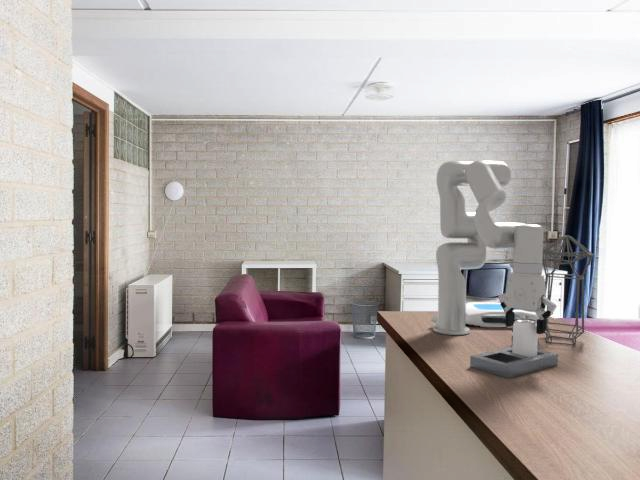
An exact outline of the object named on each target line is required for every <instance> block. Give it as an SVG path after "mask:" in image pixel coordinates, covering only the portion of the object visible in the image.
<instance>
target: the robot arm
mask: <svg viewBox="0 0 640 480" xmlns="http://www.w3.org/2000/svg"><path fill="white" fill-rule="evenodd" d="M511 178H512V172H511V168H510V167H509V166H508V164H507V163H505V162H504V161H500V160H482V159H481V160H475V161H473V160H472V161H469V160H468V161H467V160H449V161H445V162H444V163H442V164H441V165H440V166H439V168H438V170H437V173H436V187H437V191H438V194H439V203H440V204H439V210H440V211H439V214H440V215H439V216H440V221H439V225H440V233H441V235H442V236H443V237H444V238H447V239H453V240H454V239H458V240H459V239H461V240H462V239H464V240H465V239H466V240H467V242H462V241H461V242H460V241H459V242H457V241H455V242H453V241H451V242H445V243H443V244H440V245H439V246H438V247H437V249H436V253H435V257H436V265H437V272H438V273H437V274H438V278H437V279H438V286H437V287H438V288H437V289H438V290H437V291H438V294H437V295H438V296H437V298H438V301H437V303H438V304H437V315H434V316H433V317H432V318H431V319H430V322H432V323H435V325H434V326H433V332H435V333H437V334H443V335H449V336H451V335H452V336H464V335H468V334H470V333H471V329H470V328H469V327H467V326H466V303H467V281H466V278H465V276H464V275H463V273H462V271H461V270H477V269H481V268H482V267H483V266H484V265H485V264H486V259H487V248H489V249H498V250H499V249H511V250H512V249H513V250H512V251H513V253H512V255H513V257H512V258H513V259H512V262H510V264H509V267H510V268H512V271H511V272H510V273H509V275H508V278H507V282H506V283H507V284H506V290H505V291H506V292H504V293H502V294H500V295H498V296H497V297H498V300H499V303H501V306H502V308H503V309H504V312H505V313H506V315H505V319H504V323H506V327H510V326H513V324H514V322H515V321H514V318H515V313H514V312H513V310H514V309H519V310H524V311H529V312H535V313H536V314H537V316H538V317H539V319H537V329H536V333H537V334H538V335H542V334H545V332H546V321H547V319H548V320H549V318H550V317H551V316H552V315H553V314H554V312H555V310H556V308H557V304H556V303H554V302H553V301H550V300H549V299H547V290H546V286H545V276H544V275H545V274H542V273H543V262H542V257H543V248H544V227H543V226H542V225H540V224H532V223H531V224H528V223H523V222H495V221H494V220H493V218H492V217H491V214H490V212H492V211H494V210H496V209H498V208H499V207H501V206H502V205H503V204H505V201H506V198H507V194H506V191H505V189H504V187H506V186H508V184H509V183H510V181H511ZM458 186H459V187H469V188H470V189H471V191H472V193H473V196H474V197H475V200H476V202H477V203H478V205H477V206H476V209H475V211H466V199H465V196H464V194H463V192H462V191H461V190H460V188H459V187H458ZM547 306H548V310H547V309H546V308H547ZM545 309H546V310H545Z"/></svg>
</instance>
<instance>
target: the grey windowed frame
mask: <svg viewBox="0 0 640 480" xmlns="http://www.w3.org/2000/svg"><path fill="white" fill-rule="evenodd" d="M469 359H470V360H469V361H470V363H469V365H470V366H469V367H470V368H473V369H477V370H479V371H483V372H486V373H490V374H492V375H496V376H499V377H503V378H506V379H511V378H512V379H513V378H515V377H518V376H522V375H526V374H530V373H533V372H536V371H540V370H544V369H547V368H551V367H555V366H557V365H558V364H559V363H558V362H559V354H558V353H555V352H550V351H548V350H543V349H538V348H537V356H533V357H526V356H522V355H518V354H514V353H512V346H509V347H508V346H507V347H504V348H500V349H495V350H490V351H486V352H485V351H484V352H482V353H477V354H472V355H470V357H469Z"/></svg>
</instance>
